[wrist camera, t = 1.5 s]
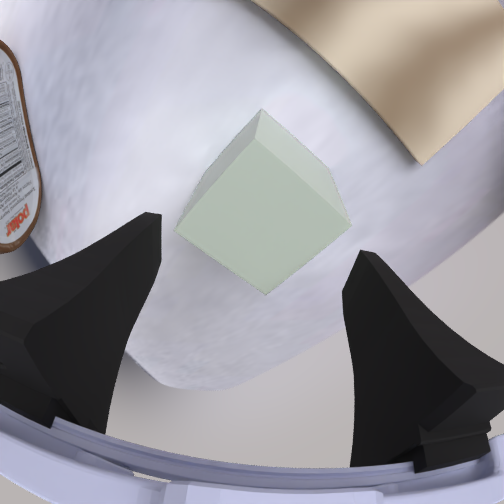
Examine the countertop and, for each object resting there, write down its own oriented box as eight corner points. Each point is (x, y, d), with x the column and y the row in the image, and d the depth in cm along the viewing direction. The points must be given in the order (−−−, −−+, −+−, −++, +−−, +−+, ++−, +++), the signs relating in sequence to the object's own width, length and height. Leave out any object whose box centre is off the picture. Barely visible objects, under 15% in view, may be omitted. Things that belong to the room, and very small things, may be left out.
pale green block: (328, 168, 18) (352, 225, 12) (269, 223, 20) (266, 295, 15) (261, 108, 16) (254, 138, 11) (204, 173, 18) (173, 231, 13)
